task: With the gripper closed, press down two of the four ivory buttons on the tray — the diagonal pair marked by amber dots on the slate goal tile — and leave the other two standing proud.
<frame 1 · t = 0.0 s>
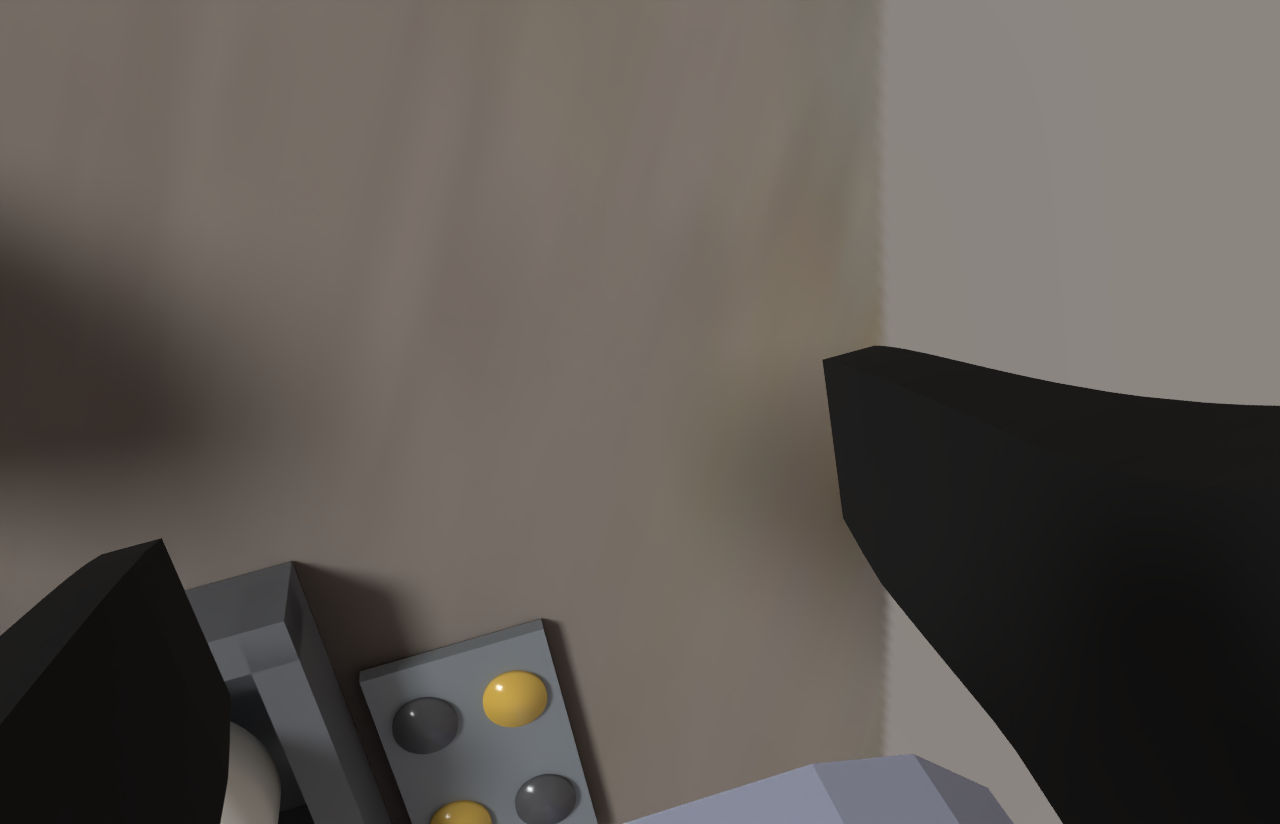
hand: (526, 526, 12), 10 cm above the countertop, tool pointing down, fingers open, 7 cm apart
goal tile: (485, 750, 25), on the countertop
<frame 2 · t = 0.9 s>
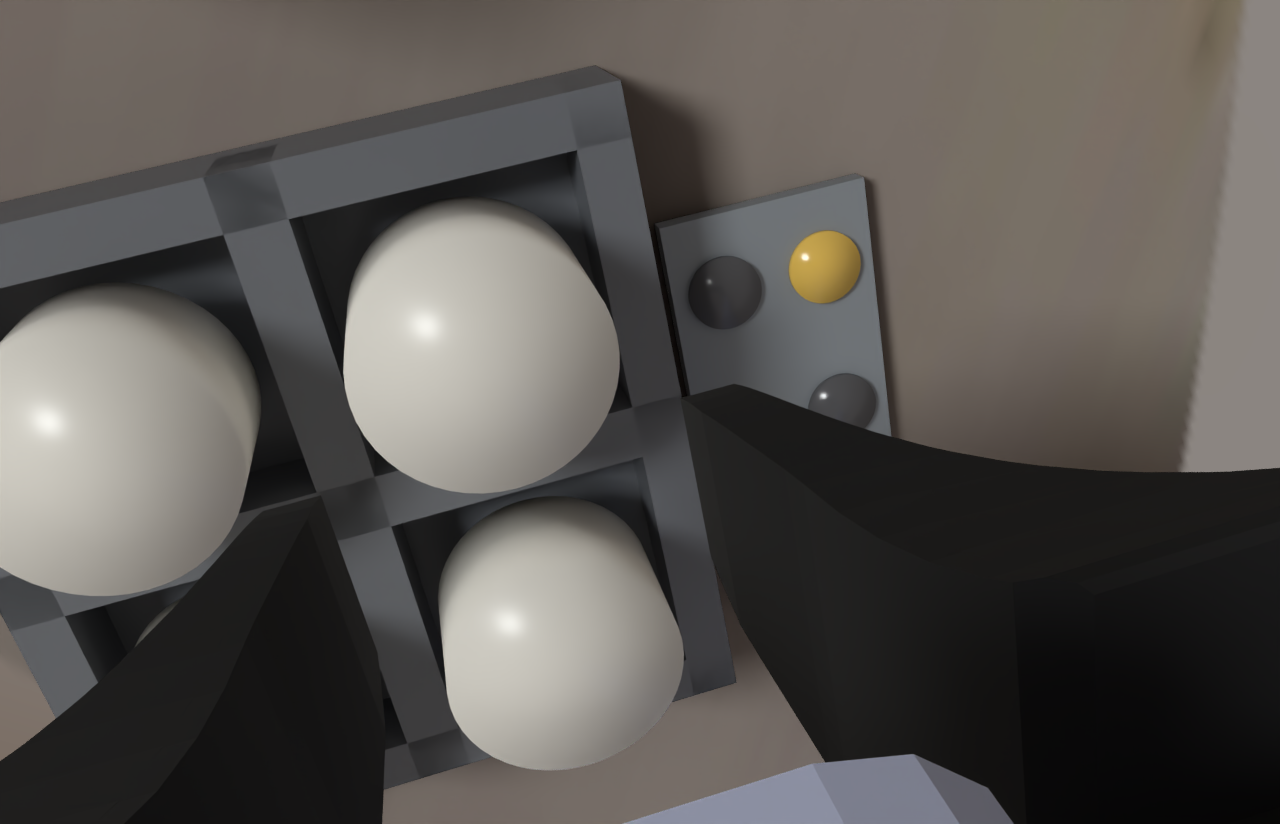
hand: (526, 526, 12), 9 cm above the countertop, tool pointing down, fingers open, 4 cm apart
button 2: (240, 722, 19), point 3 cm above the countertop, slide at 0.0 cm
button 1: (556, 630, 20), point 3 cm above the countertop, slide at 0.0 cm
goal tile: (777, 343, 22), on the countertop
tray: (355, 456, 21), on the countertop
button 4: (113, 435, 17), point 3 cm above the countertop, slide at 0.0 cm
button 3: (477, 341, 17), point 3 cm above the countertop, slide at 0.0 cm
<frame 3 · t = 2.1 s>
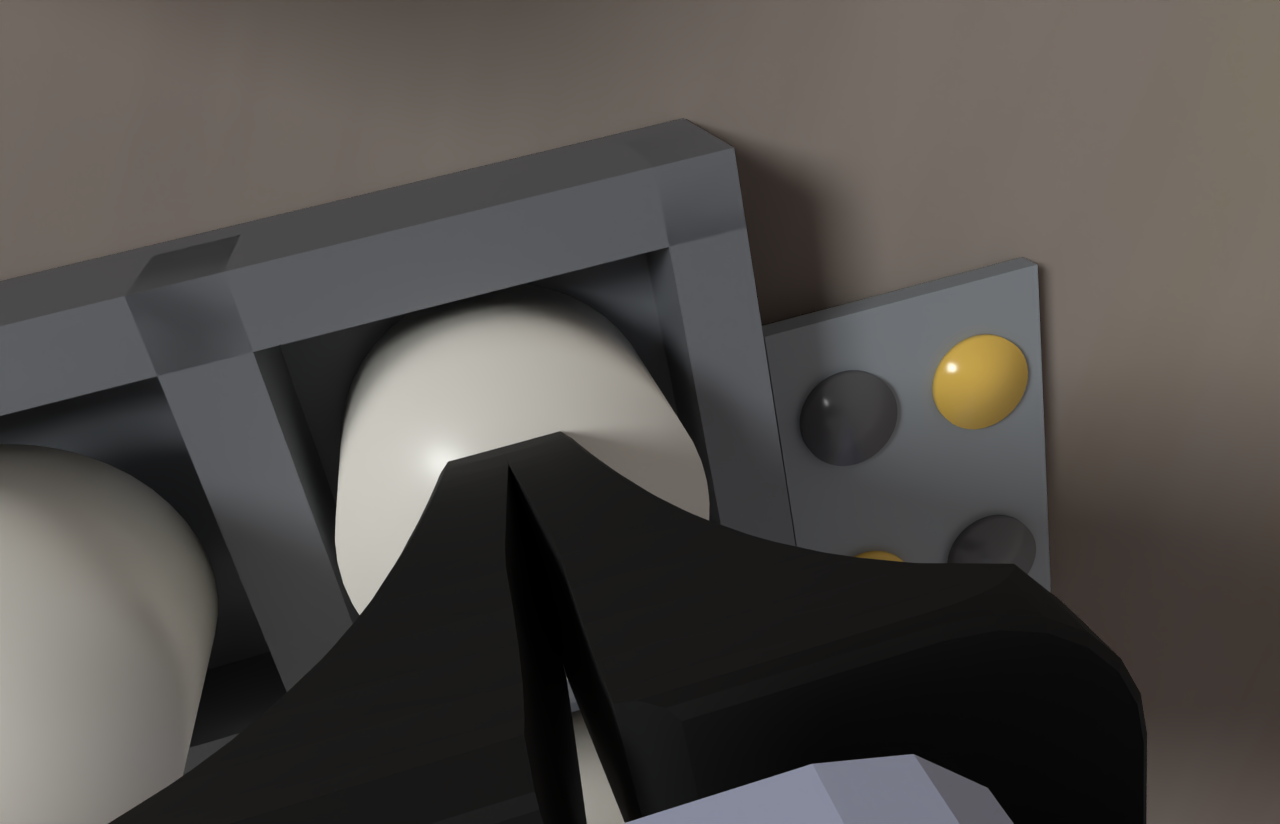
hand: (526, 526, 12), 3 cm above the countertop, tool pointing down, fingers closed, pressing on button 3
goal tile: (909, 477, 17), on the countertop
tray: (352, 636, 16), on the countertop
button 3: (515, 479, 13), point 2 cm above the countertop, slide at 1.2 cm, touching gripper
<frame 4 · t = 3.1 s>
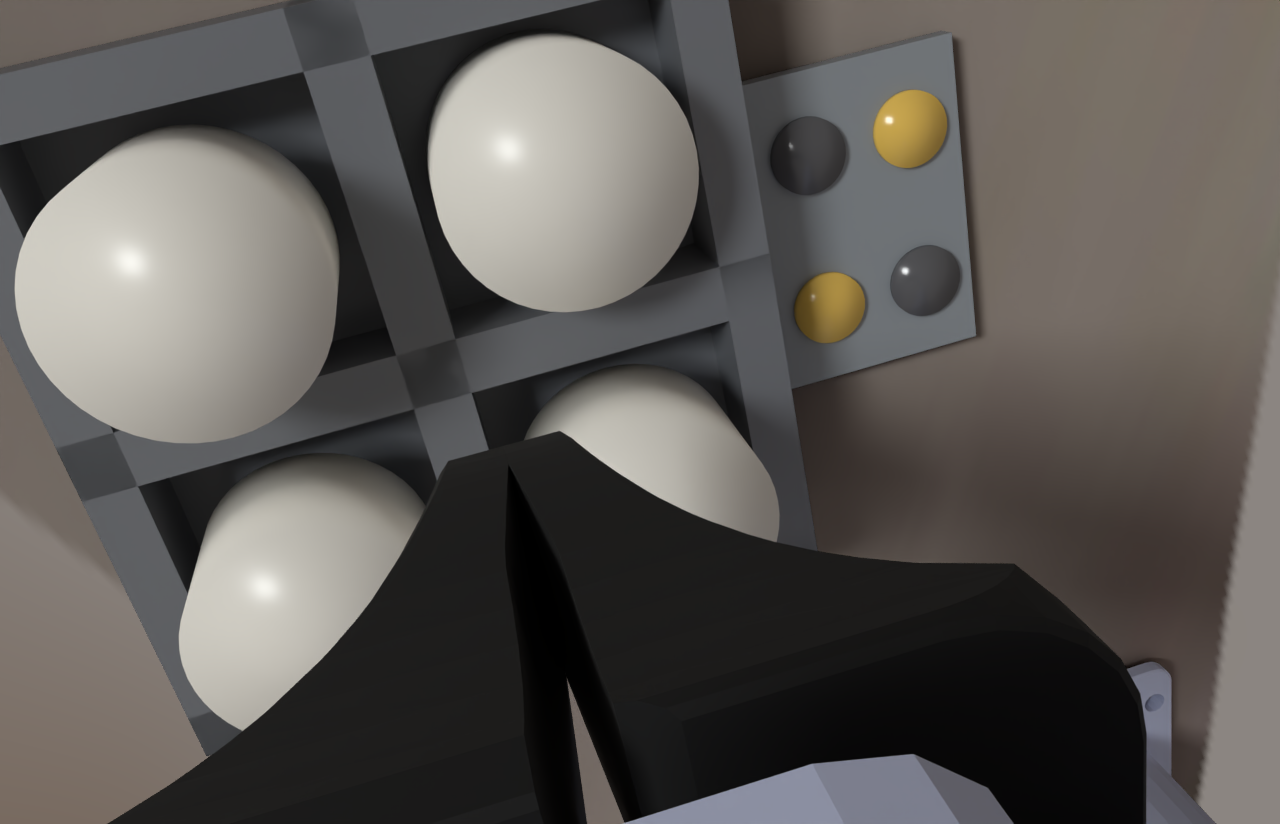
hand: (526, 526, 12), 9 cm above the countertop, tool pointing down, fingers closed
button 2: (320, 595, 19), point 3 cm above the countertop, slide at 0.0 cm
button 1: (643, 499, 19), point 3 cm above the countertop, slide at 0.0 cm
goal tile: (858, 214, 22), on the countertop
tray: (428, 332, 21), on the countertop
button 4: (194, 279, 16), point 3 cm above the countertop, slide at 0.0 cm
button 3: (556, 167, 18), point 2 cm above the countertop, slide at 1.2 cm
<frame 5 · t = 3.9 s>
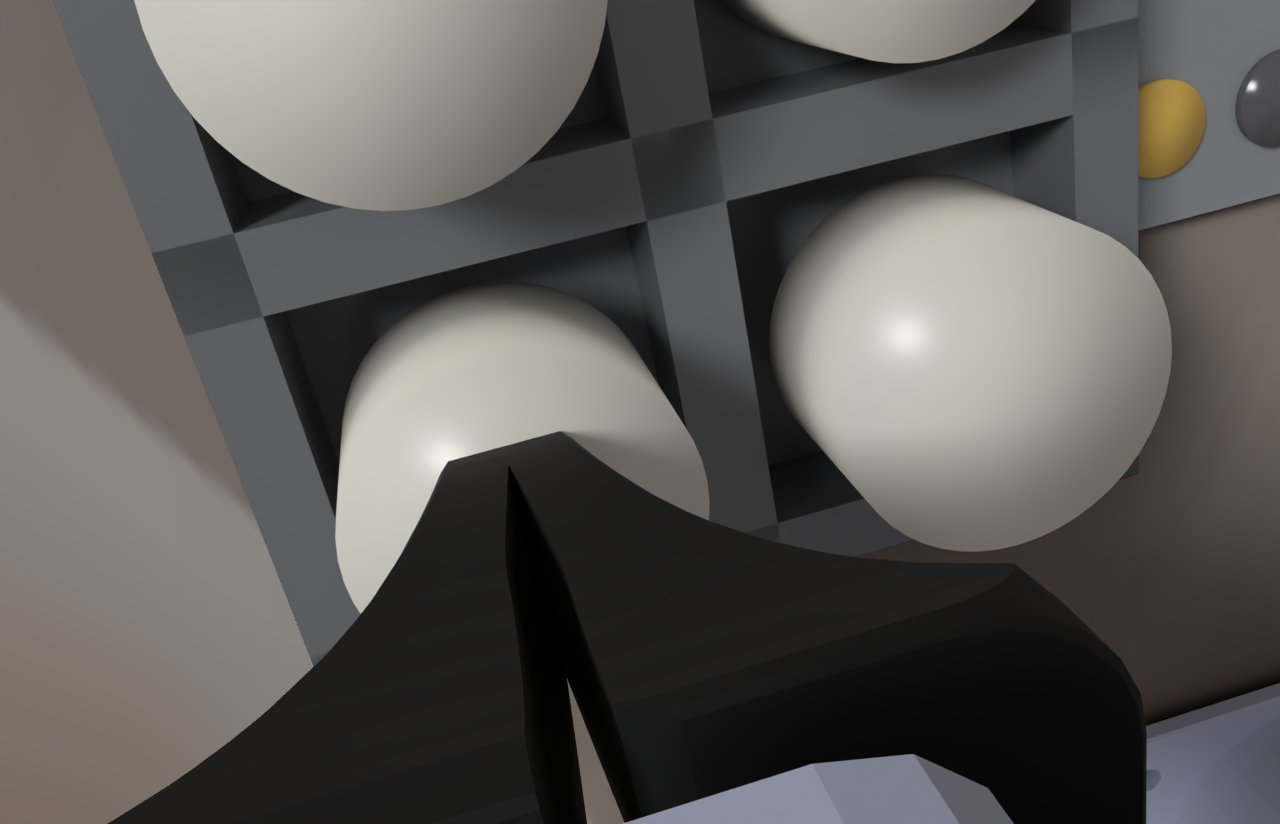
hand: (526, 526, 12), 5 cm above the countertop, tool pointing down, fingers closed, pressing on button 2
button 2: (515, 477, 13), point 3 cm above the countertop, slide at 0.0 cm, touching gripper
button 1: (957, 356, 14), point 3 cm above the countertop, slide at 0.0 cm
goal tile: (1201, 5, 16), on the countertop
tray: (639, 140, 15), on the countertop
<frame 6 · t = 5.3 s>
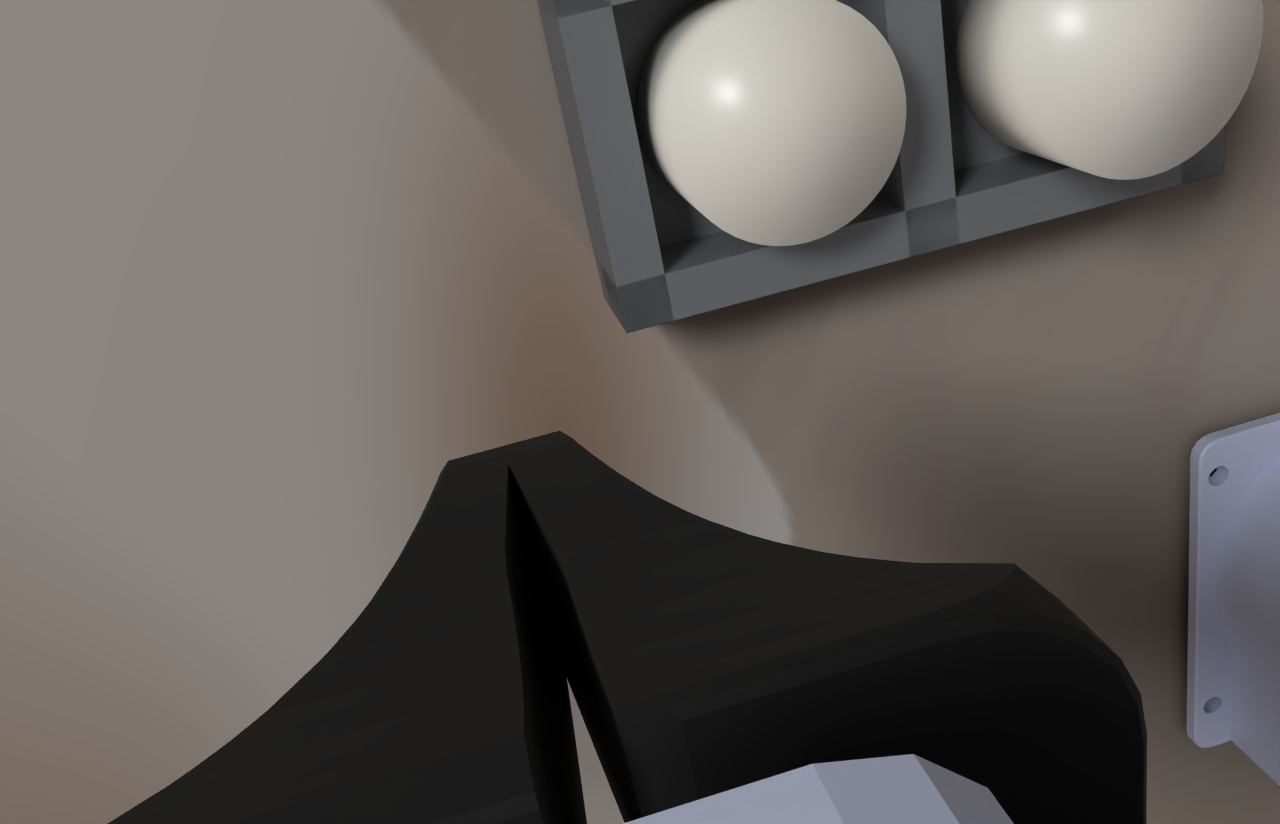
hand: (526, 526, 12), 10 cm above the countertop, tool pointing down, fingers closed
button 2: (765, 114, 19), point 2 cm above the countertop, slide at 1.2 cm
button 1: (1102, 45, 19), point 3 cm above the countertop, slide at 0.0 cm
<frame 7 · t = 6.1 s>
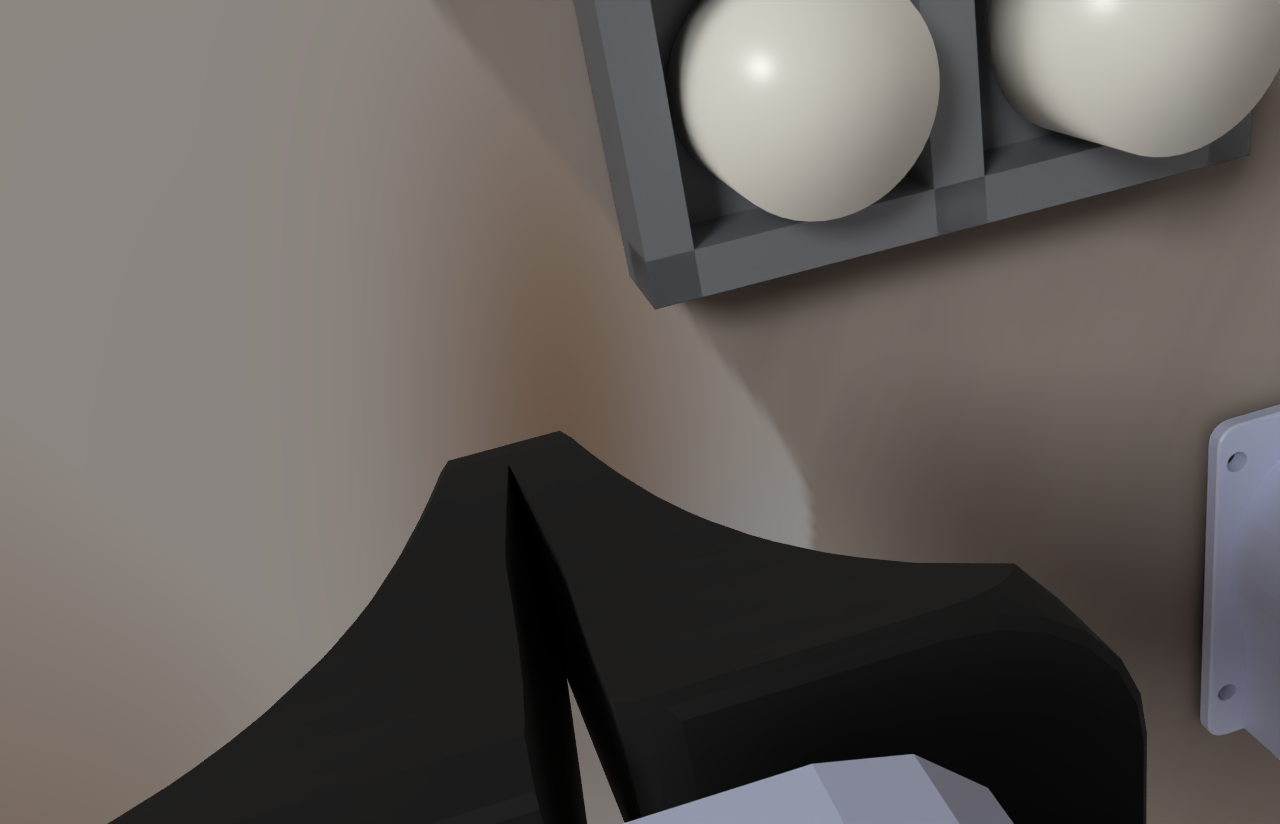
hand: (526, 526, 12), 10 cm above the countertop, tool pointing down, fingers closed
button 2: (797, 89, 19), point 2 cm above the countertop, slide at 1.2 cm
button 1: (1134, 23, 19), point 3 cm above the countertop, slide at 0.0 cm
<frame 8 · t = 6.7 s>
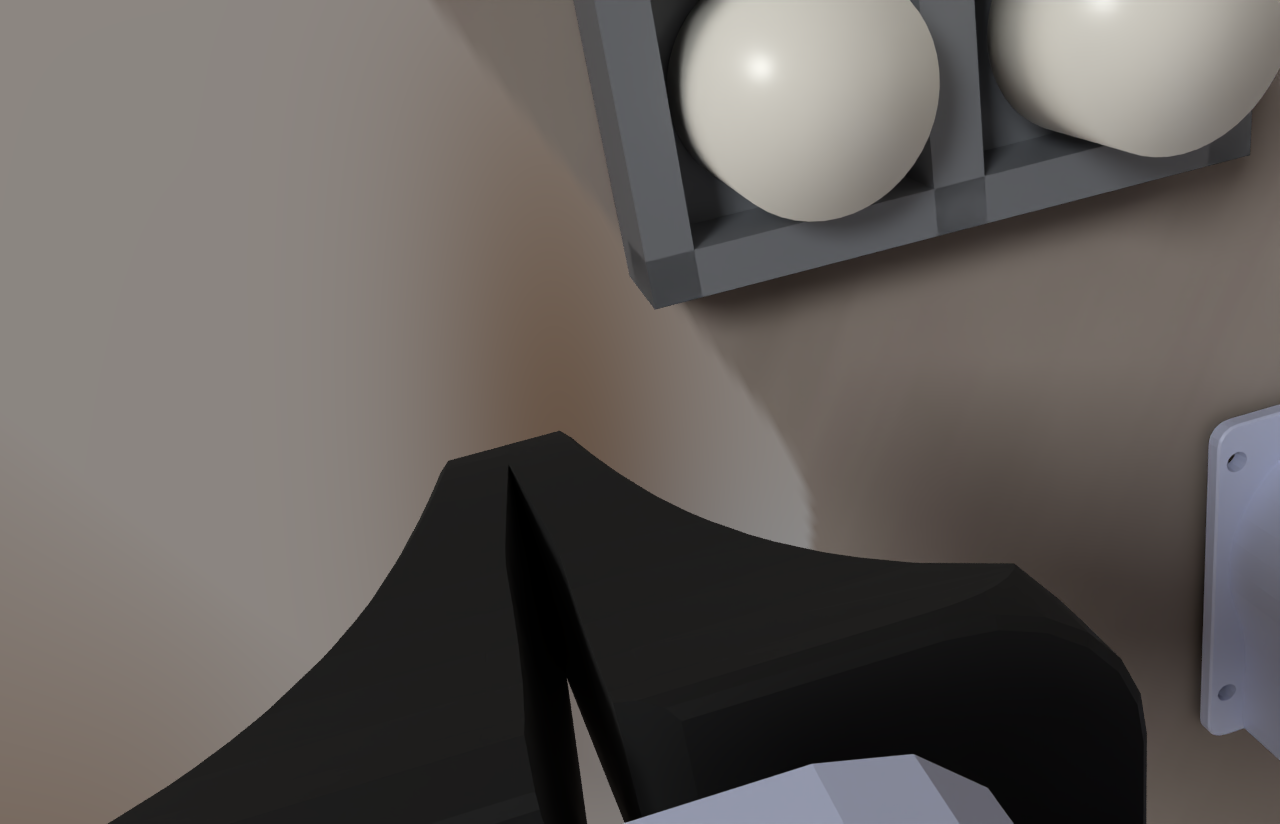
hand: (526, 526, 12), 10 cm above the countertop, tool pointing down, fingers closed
button 2: (797, 89, 19), point 2 cm above the countertop, slide at 1.2 cm
button 1: (1134, 23, 19), point 3 cm above the countertop, slide at 0.0 cm
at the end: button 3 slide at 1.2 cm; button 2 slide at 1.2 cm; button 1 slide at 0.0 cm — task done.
